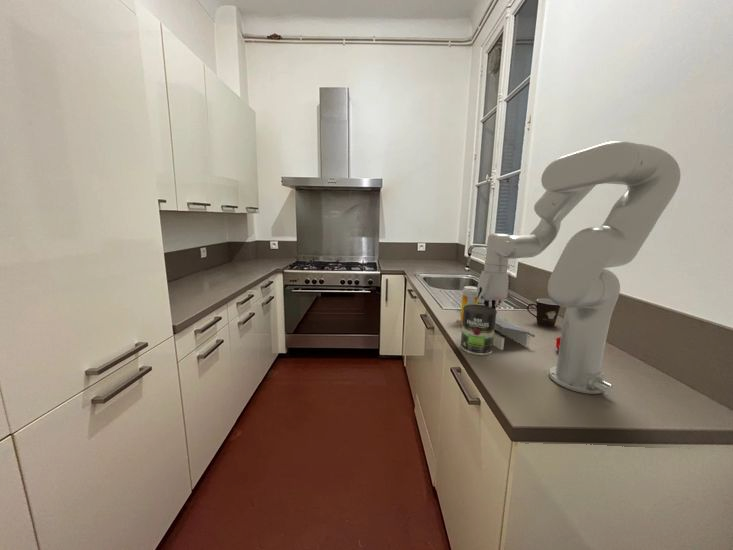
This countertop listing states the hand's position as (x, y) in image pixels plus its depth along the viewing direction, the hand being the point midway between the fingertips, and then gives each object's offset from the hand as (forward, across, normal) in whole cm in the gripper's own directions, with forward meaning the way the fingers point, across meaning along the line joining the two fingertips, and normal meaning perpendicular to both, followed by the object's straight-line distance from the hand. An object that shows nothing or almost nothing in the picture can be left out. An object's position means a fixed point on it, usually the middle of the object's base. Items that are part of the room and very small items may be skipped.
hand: (489, 317), depth 108 cm
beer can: (+8, -1, -14) cm, 16 cm away
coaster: (+8, -1, -14) cm, 16 cm away
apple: (+7, -18, +17) cm, 26 cm away
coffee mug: (+8, -31, -7) cm, 32 cm away
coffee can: (+8, +10, +8) cm, 15 cm away
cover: (+2, -3, +1) cm, 3 cm away
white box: (+8, -3, +1) cm, 8 cm away
